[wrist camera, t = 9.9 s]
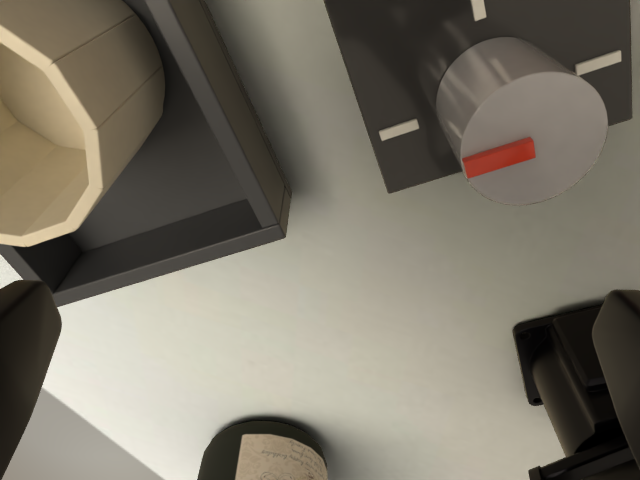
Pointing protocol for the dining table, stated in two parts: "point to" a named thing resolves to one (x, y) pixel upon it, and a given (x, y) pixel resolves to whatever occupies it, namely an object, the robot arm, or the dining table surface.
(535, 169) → the knob
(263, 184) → the sink
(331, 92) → the dining table surface
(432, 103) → the hob
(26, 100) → the pot
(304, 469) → the wine bottle
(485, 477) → the dining table surface
